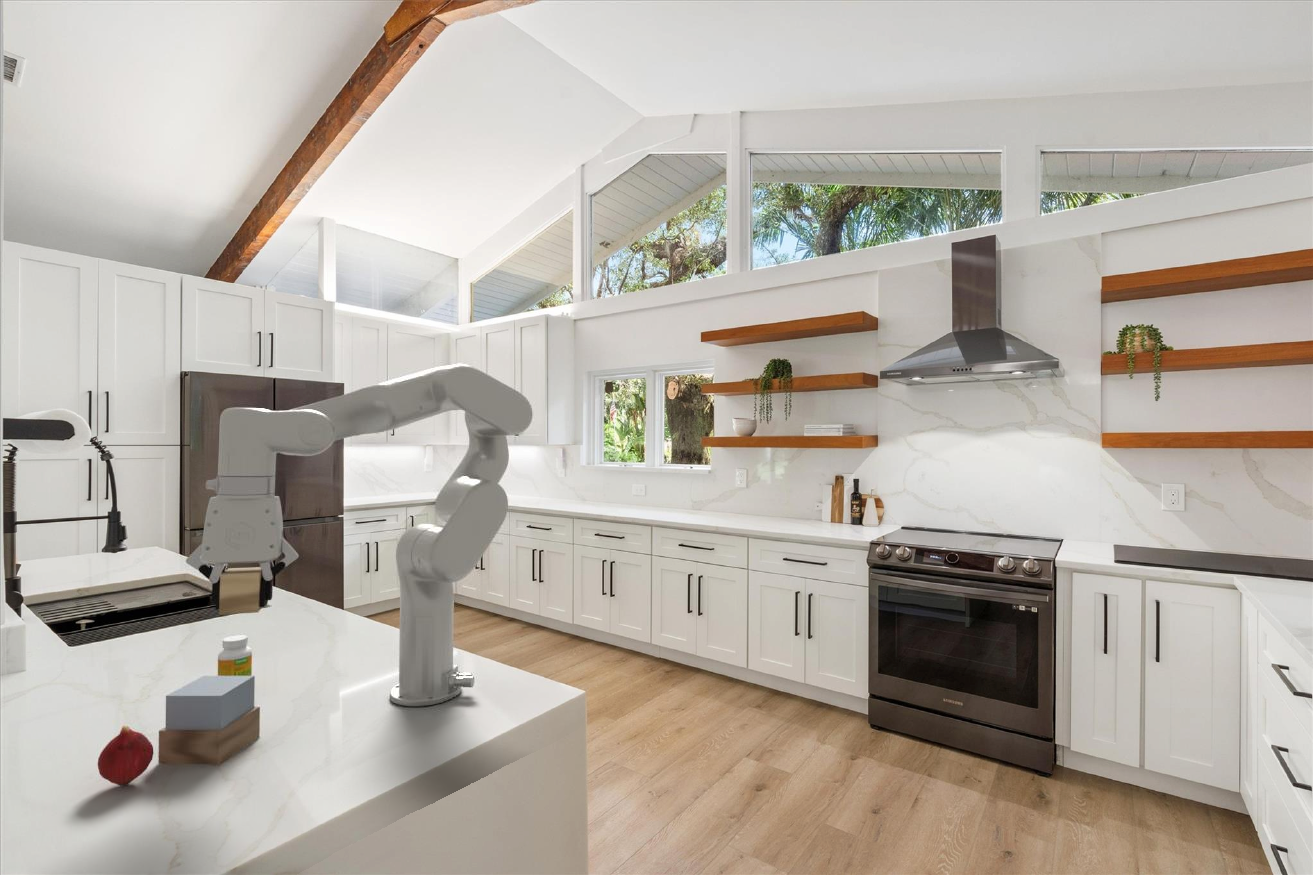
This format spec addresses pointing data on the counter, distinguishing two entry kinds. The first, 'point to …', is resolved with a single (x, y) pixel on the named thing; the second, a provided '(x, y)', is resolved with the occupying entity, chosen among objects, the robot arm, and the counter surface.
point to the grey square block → (210, 703)
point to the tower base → (208, 742)
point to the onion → (125, 757)
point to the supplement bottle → (235, 657)
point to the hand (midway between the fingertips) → (242, 605)
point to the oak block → (240, 590)
